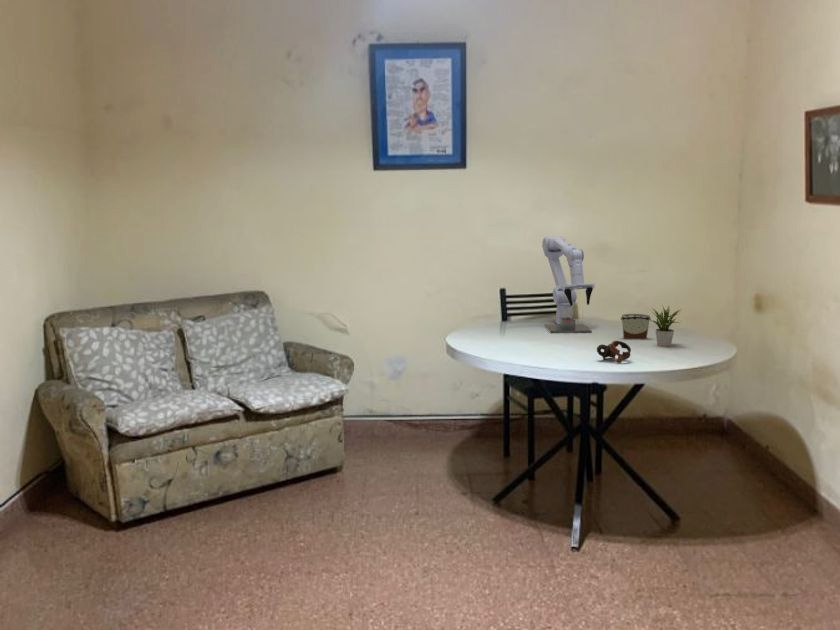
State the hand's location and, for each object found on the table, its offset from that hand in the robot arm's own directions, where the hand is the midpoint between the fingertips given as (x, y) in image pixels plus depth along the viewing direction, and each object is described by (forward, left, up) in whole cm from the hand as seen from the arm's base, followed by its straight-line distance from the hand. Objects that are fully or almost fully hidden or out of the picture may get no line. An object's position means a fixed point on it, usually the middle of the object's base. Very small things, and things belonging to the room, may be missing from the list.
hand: (579, 305), depth 337 cm
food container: (+24, +18, -11) cm, 32 cm away
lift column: (+2, -6, -10) cm, 11 cm away
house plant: (+42, +26, -11) cm, 51 cm away
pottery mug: (+68, -2, -11) cm, 69 cm away
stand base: (+2, -6, -11) cm, 12 cm away
